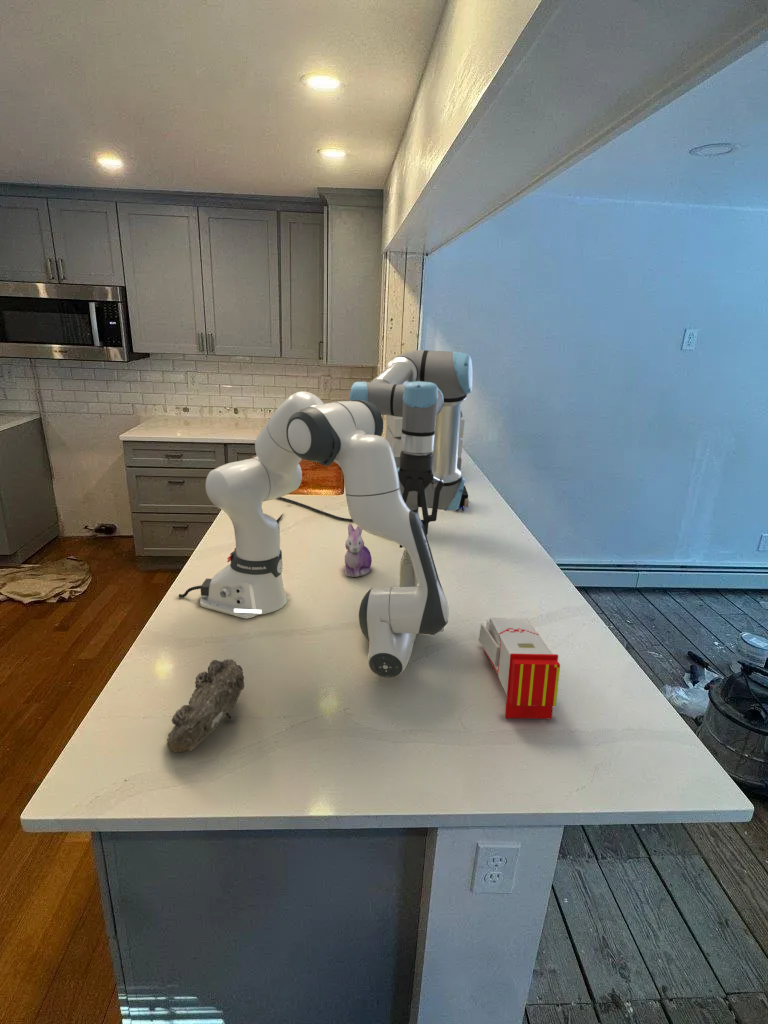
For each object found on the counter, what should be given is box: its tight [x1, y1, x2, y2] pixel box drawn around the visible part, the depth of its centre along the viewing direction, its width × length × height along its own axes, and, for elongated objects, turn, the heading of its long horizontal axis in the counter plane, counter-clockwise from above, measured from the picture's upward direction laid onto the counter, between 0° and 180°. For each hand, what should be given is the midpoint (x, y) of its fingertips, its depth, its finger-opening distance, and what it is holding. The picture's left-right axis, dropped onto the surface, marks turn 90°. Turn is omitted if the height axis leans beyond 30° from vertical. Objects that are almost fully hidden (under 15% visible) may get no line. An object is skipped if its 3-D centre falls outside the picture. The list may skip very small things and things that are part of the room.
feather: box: [276, 513, 284, 523], centre depth 210 cm, size 2×28×2 cm
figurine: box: [343, 523, 373, 578], centre depth 168 cm, size 9×10×15 cm
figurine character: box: [455, 485, 470, 512], centre depth 229 cm, size 7×8×15 cm
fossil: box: [166, 658, 245, 754], centre depth 106 cm, size 22×10×15 cm
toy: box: [478, 616, 561, 720], centre depth 122 cm, size 12×13×30 cm
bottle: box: [398, 548, 419, 587], centre depth 140 cm, size 5×5×22 cm
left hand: (407, 598), depth 143 cm, fingers closed on bottle, 4 cm apart
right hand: (410, 545), depth 137 cm, fingers closed on cap, 4 cm apart
